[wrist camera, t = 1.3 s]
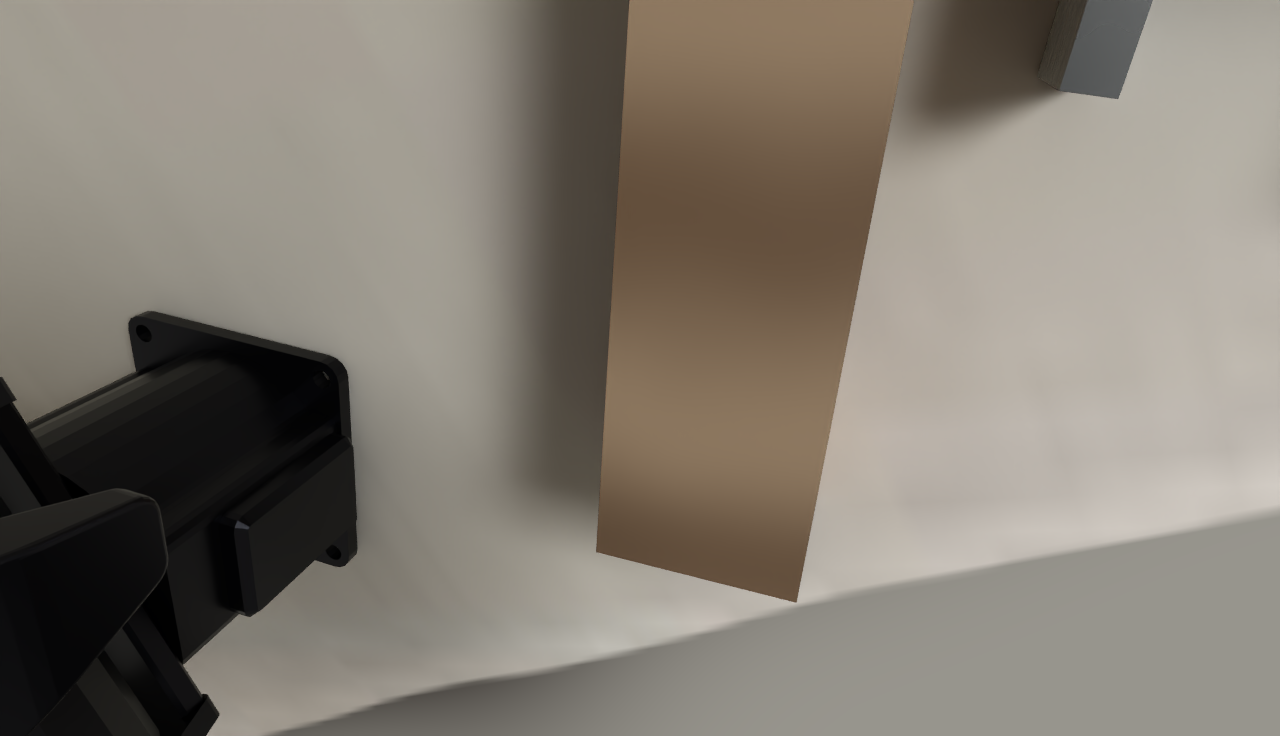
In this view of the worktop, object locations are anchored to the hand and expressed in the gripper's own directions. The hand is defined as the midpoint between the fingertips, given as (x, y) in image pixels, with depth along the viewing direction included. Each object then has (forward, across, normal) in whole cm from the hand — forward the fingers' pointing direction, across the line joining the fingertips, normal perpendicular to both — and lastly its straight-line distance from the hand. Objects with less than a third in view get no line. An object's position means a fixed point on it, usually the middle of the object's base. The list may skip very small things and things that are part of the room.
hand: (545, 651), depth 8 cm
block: (+11, 0, -3) cm, 11 cm away
